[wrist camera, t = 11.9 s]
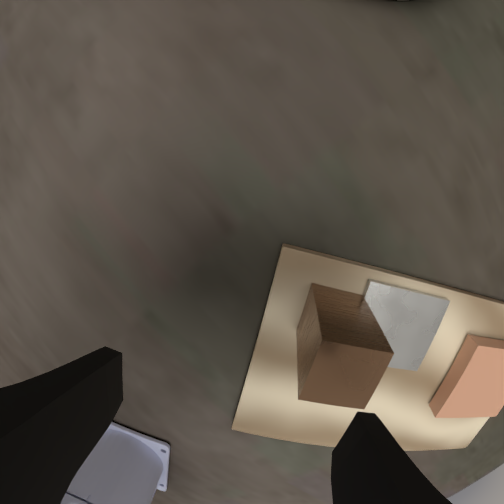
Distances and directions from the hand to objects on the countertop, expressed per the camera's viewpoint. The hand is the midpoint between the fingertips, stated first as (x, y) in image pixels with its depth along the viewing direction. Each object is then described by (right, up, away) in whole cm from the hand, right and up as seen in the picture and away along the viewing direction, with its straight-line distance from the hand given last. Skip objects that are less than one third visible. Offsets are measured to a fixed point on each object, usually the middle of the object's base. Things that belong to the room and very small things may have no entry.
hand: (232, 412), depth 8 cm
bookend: (+7, +1, +8) cm, 11 cm away
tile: (+14, -4, +8) cm, 16 cm away
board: (+11, -4, +10) cm, 16 cm away
